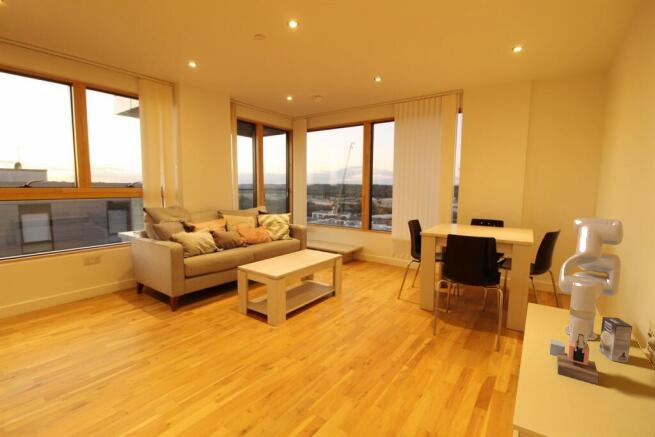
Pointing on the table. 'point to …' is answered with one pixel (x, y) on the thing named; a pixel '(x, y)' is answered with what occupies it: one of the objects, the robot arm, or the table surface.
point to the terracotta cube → (571, 349)
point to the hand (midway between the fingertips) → (577, 356)
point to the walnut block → (577, 369)
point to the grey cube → (557, 347)
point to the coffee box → (615, 339)
